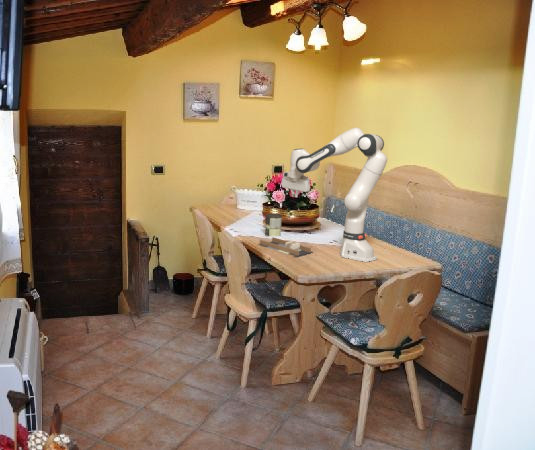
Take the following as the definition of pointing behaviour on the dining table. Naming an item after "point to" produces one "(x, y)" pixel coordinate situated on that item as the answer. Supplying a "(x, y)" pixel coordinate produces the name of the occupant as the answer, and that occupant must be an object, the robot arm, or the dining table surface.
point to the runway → (280, 246)
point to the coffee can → (273, 224)
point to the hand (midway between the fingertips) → (294, 196)
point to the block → (293, 245)
